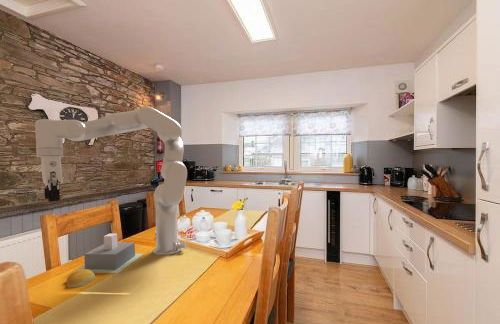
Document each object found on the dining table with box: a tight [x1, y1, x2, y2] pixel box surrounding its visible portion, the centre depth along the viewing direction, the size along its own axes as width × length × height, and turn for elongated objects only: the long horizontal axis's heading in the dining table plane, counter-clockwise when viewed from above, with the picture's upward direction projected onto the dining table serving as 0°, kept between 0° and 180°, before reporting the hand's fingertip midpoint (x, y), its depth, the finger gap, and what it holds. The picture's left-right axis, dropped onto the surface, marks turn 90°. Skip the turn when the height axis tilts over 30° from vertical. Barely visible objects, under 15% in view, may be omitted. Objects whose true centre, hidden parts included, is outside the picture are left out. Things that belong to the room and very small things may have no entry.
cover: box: [83, 233, 136, 270], centre depth 99 cm, size 13×13×12 cm
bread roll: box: [65, 269, 96, 289], centre depth 84 cm, size 8×9×4 cm
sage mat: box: [75, 253, 144, 274], centre depth 99 cm, size 18×18×1 cm
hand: (52, 199), depth 88 cm, fingers open, 9 cm apart
